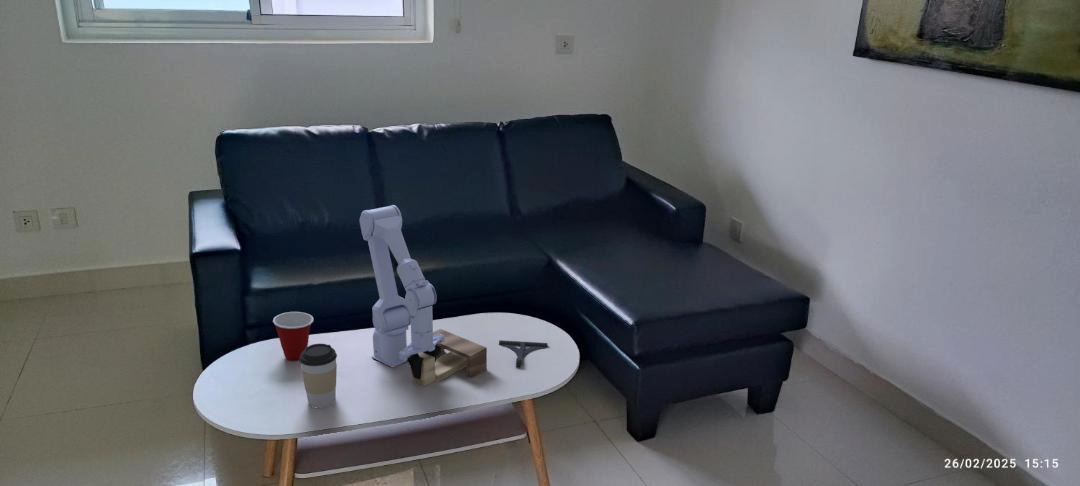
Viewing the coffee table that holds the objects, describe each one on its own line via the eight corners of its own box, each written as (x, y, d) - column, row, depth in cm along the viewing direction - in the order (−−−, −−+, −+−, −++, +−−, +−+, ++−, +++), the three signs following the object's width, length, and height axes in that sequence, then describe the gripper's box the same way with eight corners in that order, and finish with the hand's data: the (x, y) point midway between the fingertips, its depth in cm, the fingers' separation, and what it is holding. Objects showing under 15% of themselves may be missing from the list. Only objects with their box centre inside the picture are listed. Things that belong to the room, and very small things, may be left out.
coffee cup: (305, 413, 183) (300, 359, 178) (301, 395, 191) (296, 343, 186) (342, 406, 186) (339, 353, 181) (337, 389, 194) (333, 337, 189)
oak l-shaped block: (409, 378, 200) (408, 355, 198) (460, 352, 215) (460, 330, 213) (427, 387, 196) (426, 363, 194) (478, 359, 211) (478, 337, 209)
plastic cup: (319, 361, 208) (316, 322, 204) (279, 368, 204) (275, 329, 200) (313, 345, 217) (310, 307, 213) (274, 351, 213) (270, 313, 209)
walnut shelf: (424, 357, 212) (423, 336, 209) (440, 349, 216) (440, 328, 214) (470, 378, 201) (470, 356, 199) (486, 369, 206) (486, 347, 204)
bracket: (492, 368, 208) (492, 359, 207) (499, 344, 222) (499, 335, 221) (543, 372, 207) (543, 363, 206) (547, 347, 221) (547, 339, 220)
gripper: (411, 342, 187) (413, 389, 191) (452, 324, 198) (452, 368, 202) (393, 334, 191) (395, 381, 195) (433, 316, 202) (434, 360, 206)
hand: (423, 374), depth 199 cm, fingers closed on oak l-shaped block, 4 cm apart
